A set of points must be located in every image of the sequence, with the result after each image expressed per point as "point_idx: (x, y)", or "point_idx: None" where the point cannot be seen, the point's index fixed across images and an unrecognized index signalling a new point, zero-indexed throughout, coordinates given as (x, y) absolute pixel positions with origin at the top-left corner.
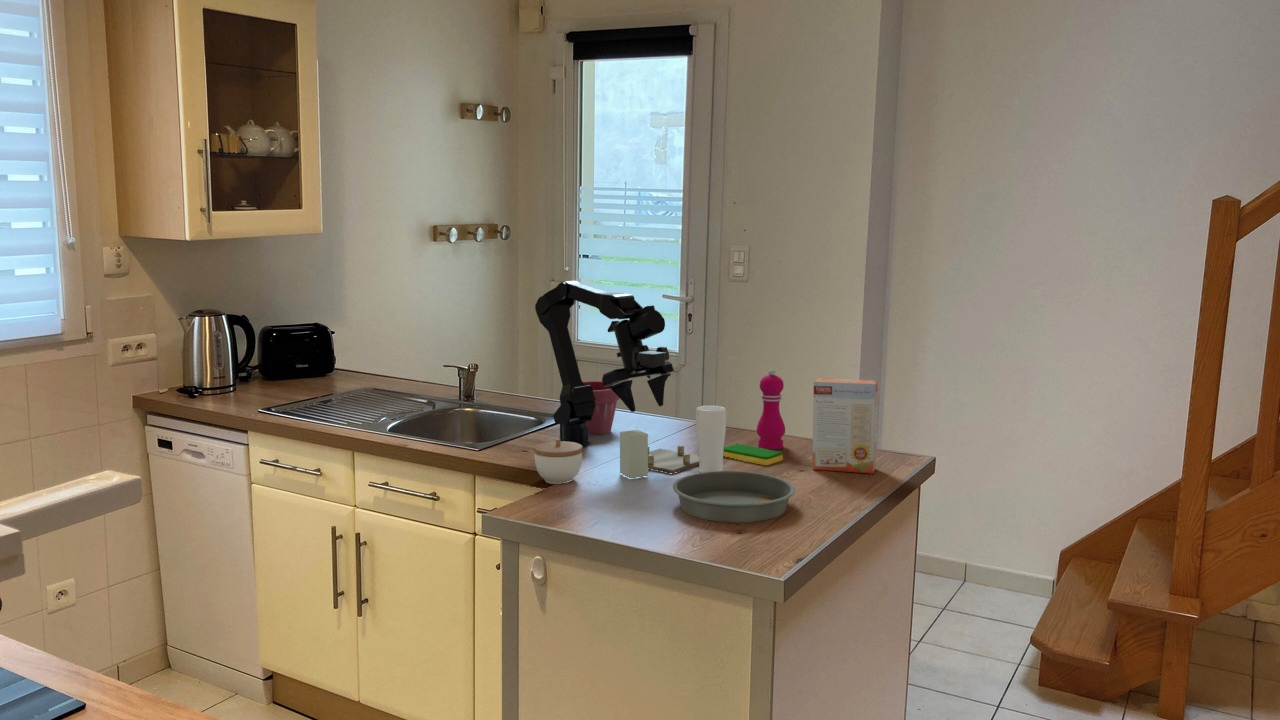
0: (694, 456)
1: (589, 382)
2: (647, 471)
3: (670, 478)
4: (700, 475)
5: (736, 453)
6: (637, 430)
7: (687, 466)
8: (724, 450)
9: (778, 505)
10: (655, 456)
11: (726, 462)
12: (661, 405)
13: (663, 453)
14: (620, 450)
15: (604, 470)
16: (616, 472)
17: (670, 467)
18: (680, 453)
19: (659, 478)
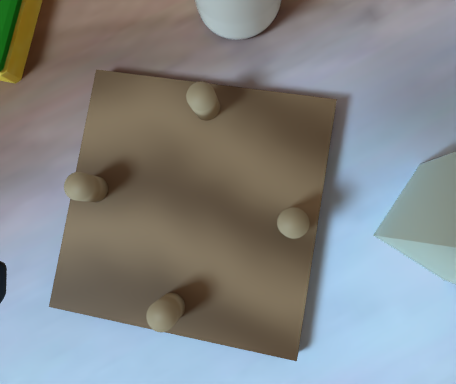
0: (107, 126)
1: None
2: (433, 160)
3: (386, 85)
4: None
5: (19, 2)
6: None
7: (239, 89)
8: (6, 51)
9: None
10: (173, 261)
11: (88, 23)
12: (3, 269)
13: (116, 255)
14: None
15: (413, 372)
16: (415, 311)
17: (302, 126)
18: (104, 184)
19: (407, 120)
